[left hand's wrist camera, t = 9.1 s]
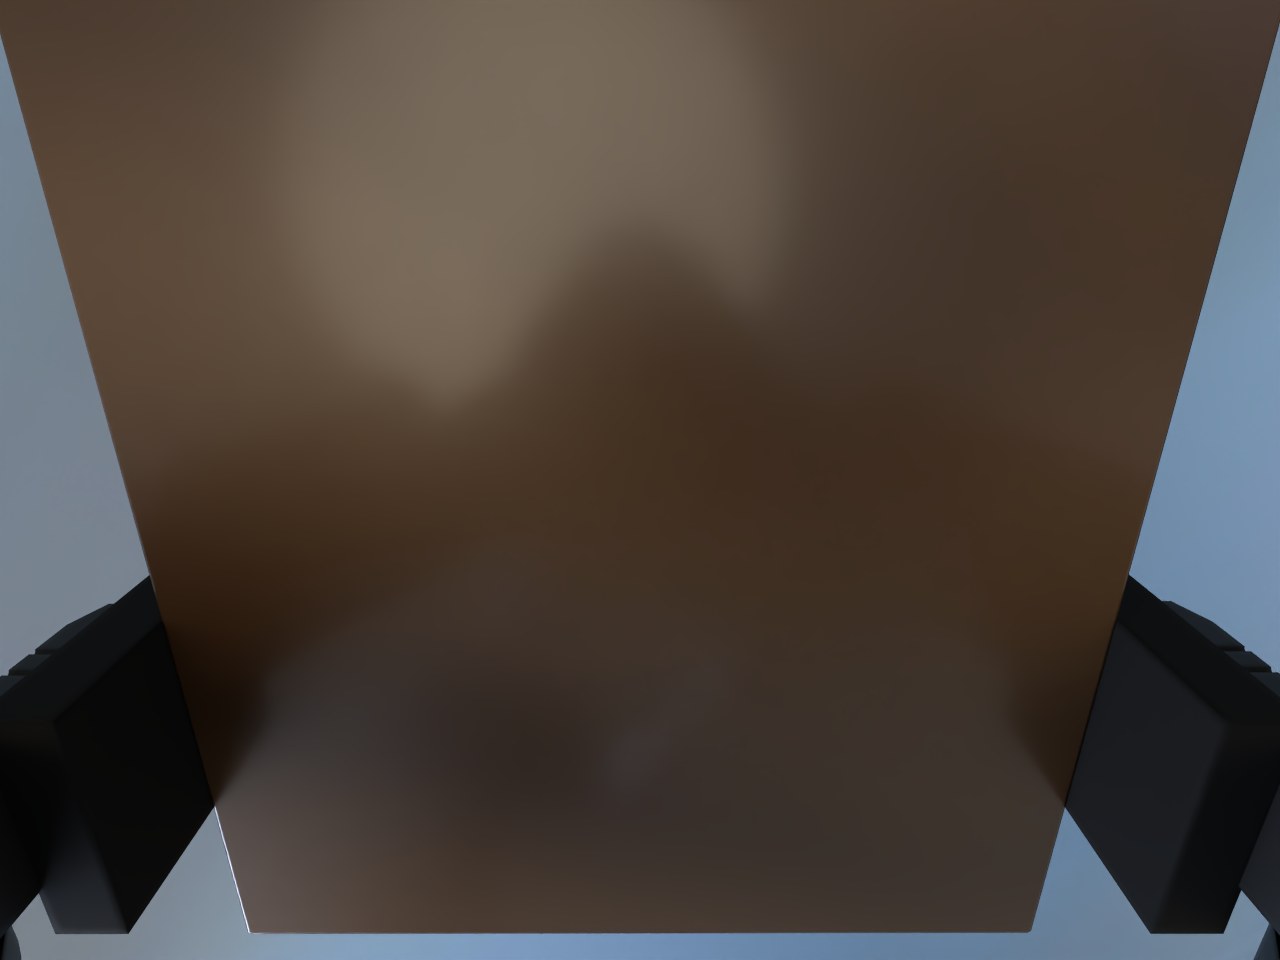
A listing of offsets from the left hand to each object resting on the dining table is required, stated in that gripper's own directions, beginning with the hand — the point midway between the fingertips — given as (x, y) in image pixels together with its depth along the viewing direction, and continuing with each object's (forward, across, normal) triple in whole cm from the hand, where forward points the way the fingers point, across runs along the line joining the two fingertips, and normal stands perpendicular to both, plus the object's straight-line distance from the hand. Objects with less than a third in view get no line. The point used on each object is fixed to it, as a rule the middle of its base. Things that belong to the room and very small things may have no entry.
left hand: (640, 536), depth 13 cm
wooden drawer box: (+6, 0, -7) cm, 9 cm away
